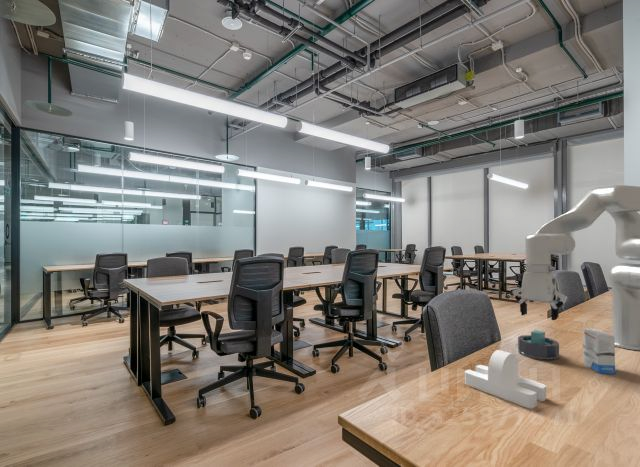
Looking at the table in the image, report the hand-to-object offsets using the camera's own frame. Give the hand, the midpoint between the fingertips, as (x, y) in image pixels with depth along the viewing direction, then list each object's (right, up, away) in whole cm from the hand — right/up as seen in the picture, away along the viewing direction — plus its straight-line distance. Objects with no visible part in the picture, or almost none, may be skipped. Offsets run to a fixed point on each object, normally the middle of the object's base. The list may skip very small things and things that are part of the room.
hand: (538, 317), depth 122 cm
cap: (0, -12, 0) cm, 12 cm away
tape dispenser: (-28, -14, -29) cm, 42 cm away
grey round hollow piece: (0, -13, 0) cm, 13 cm away
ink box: (+11, -14, -13) cm, 22 cm away
